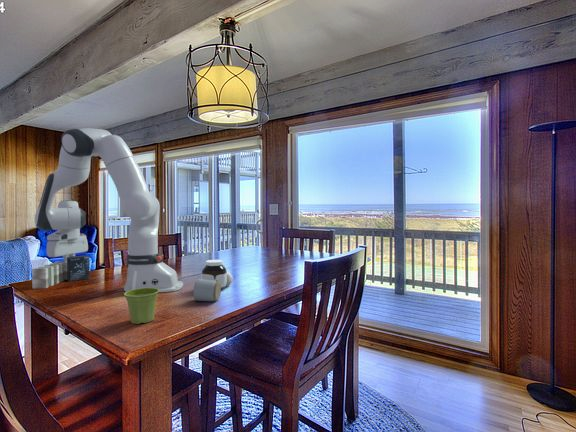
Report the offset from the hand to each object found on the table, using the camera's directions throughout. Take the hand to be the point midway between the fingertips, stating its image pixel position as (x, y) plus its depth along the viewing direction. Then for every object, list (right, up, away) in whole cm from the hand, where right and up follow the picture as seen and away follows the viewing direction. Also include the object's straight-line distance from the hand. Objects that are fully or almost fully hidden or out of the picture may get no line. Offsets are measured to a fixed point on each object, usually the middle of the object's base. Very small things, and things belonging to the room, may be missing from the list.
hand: (69, 263), depth 149 cm
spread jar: (+75, -7, -19) cm, 78 cm away
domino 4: (+1, -6, -10) cm, 12 cm away
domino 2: (+3, -7, -17) cm, 19 cm away
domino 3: (+2, -6, -13) cm, 15 cm away
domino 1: (+3, -7, -21) cm, 22 cm away
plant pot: (+61, -8, -56) cm, 84 cm away
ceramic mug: (+75, -8, -35) cm, 83 cm away
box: (+8, -6, -6) cm, 12 cm away
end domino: (+1, -6, -6) cm, 9 cm away
